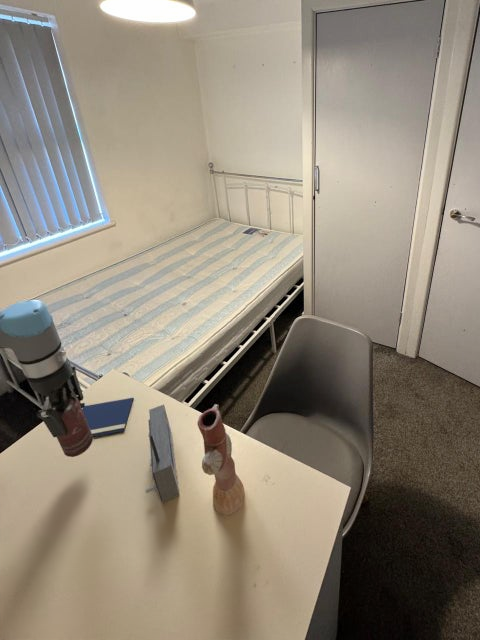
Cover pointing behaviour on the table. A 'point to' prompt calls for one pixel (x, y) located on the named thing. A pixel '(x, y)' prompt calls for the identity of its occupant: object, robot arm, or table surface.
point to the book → (108, 417)
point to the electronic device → (162, 455)
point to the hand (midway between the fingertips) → (78, 436)
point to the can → (75, 429)
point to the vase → (220, 462)
